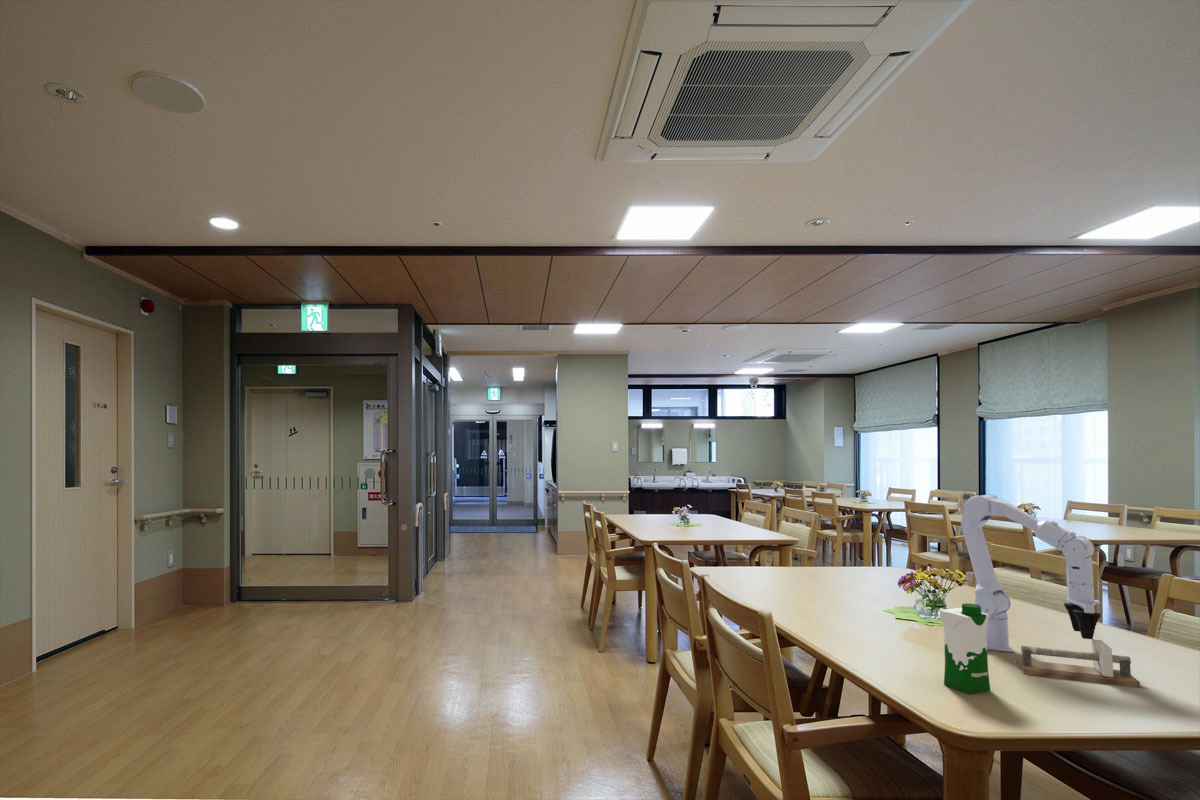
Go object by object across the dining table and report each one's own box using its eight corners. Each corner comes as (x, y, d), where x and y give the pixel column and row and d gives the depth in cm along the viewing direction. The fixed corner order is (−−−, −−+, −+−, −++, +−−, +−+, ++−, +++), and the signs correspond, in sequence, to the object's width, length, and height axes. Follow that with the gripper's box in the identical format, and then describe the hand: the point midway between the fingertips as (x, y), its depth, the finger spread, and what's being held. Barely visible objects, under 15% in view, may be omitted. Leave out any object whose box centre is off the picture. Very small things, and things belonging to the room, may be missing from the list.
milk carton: (970, 696, 151) (966, 609, 153) (937, 683, 160) (934, 600, 161) (996, 691, 155) (993, 606, 156) (963, 679, 163) (960, 598, 164)
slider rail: (1024, 674, 167) (1023, 650, 167) (1016, 663, 175) (1015, 640, 175) (1140, 687, 157) (1138, 662, 158) (1126, 675, 166) (1125, 651, 166)
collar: (1103, 676, 161) (1101, 647, 161) (1093, 666, 168) (1091, 639, 169) (1113, 677, 160) (1111, 648, 160) (1102, 667, 167) (1101, 640, 168)
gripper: (1107, 589, 166) (1110, 644, 164) (1089, 579, 179) (1092, 629, 178) (1074, 587, 168) (1077, 640, 167) (1059, 577, 182) (1061, 626, 181)
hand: (1082, 634), depth 173 cm, fingers open, 7 cm apart
